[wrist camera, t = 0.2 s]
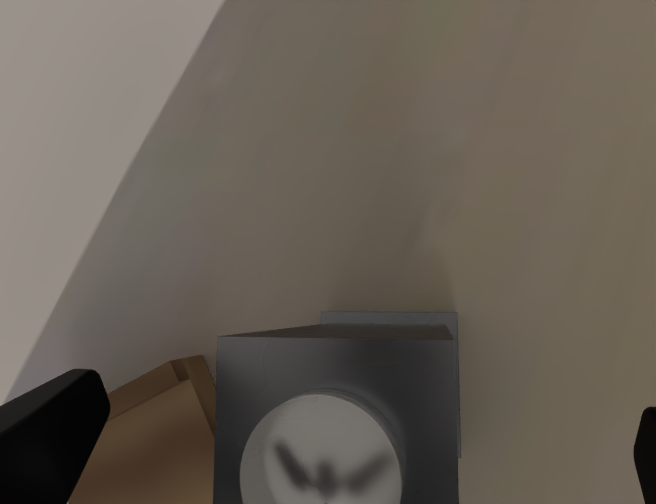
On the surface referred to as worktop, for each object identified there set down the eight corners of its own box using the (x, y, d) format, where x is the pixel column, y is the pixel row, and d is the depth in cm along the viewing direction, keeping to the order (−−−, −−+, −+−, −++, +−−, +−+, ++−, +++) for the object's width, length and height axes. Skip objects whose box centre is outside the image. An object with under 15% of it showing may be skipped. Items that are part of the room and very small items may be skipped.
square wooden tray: (267, 511, 23) (243, 541, 20) (128, 576, 24) (86, 613, 21) (201, 355, 25) (169, 360, 22) (74, 422, 26) (27, 436, 23)
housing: (459, 450, 21) (497, 691, 8) (326, 441, 23) (160, 636, 9) (456, 312, 22) (485, 315, 9) (326, 311, 23) (173, 313, 10)
